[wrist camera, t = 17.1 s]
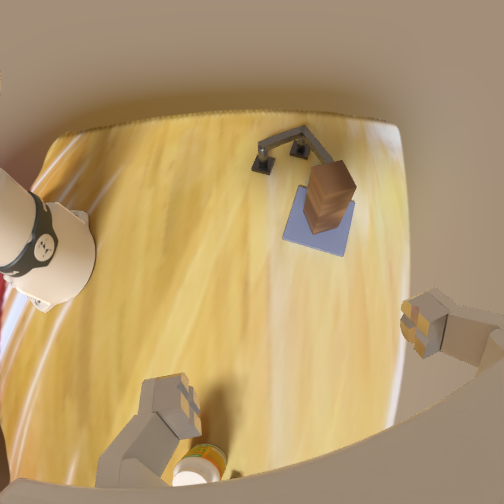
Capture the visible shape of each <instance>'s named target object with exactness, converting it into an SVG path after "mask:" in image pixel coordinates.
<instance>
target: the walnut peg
mask: <svg viewBox="0 0 504 504" xmlns="http://www.w3.org/2000/svg"><path fill="white" fill-rule="evenodd" d="M356 188H357V187H356V185H355V183H354V181H353V179H352V177H351V175H350V173H349V172H348V170H347V168H346V166H345V164H344V162H343V161H342V160H340V161H336V162H331V163H327V164H322V165H318V166H314V167H312V169H311V174H310V179H309V184H308V189H307V194H306V199H305V204H304V209H303V213H304V215H305V217H306V220H307V222H308V225H309V227H310V230H311V232H312V235H315V234H318V233H321V232H325V231H328V230H332V229H335V228H338V226H339V224H340V222H341V220H342V218H343V216H344V214H345V212H346V209H347V207H348V205H349V203H350V201H351V199H352V196H353V194H354V192H355V190H356Z"/></svg>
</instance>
